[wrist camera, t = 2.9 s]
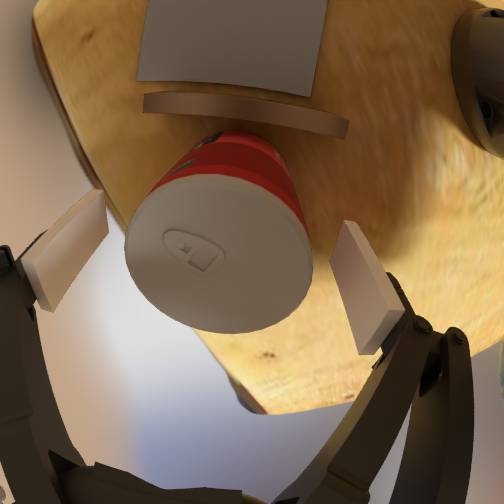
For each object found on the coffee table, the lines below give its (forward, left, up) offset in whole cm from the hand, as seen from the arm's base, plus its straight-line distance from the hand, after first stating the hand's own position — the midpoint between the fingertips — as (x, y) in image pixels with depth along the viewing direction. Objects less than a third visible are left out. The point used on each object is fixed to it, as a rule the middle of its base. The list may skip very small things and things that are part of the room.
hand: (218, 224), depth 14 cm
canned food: (0, 0, -7) cm, 7 cm away
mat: (+2, -13, -7) cm, 15 cm away
